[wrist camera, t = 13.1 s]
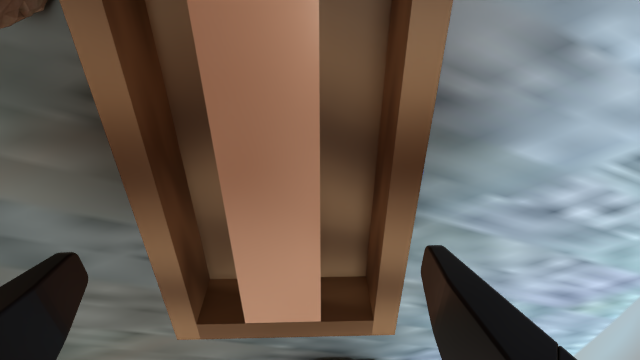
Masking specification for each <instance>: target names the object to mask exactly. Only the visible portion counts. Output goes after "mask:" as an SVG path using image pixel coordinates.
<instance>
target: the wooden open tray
mask: <svg viewBox="0 0 640 360" xmlns="http://www.w3.org/2000/svg"><path fill="white" fill-rule="evenodd" d="M59 1H60V4H61V6H62V9H63V12H64V15H65V18H66V21H67V24H68V27H69V29H70V32H71V35H72V38H73V41H74V44H75V47H76V50H77V52H78V55H79V58H80V61H81V64H82V67H83V70H84V73H85V75H86V78H87V81H88V84H89V87H90V90H91V93H92V96H93V98H94V101H95V104H96V107H97V110H98V113H99V116H100V119H101V121H102V124H103V127H104V130H105V133H106V136H107V139H108V142H109V144H110V147H111V150H112V153H113V156H114V159H115V162H116V165H117V167H118V170H119V173H120V176H121V179H122V182H123V185H124V188H125V190H126V193H127V196H128V199H129V202H130V205H131V208H132V211H133V213H134V216H135V219H136V222H137V225H138V228H139V231H140V234H141V236H142V239H143V242H144V245H145V248H146V251H147V254H148V257H149V259H150V262H151V265H152V268H153V271H154V274H155V277H156V280H157V282H158V285H159V288H160V291H161V294H162V297H163V300H164V303H165V305H166V308H167V311H168V314H169V317H170V320H171V323H172V326H173V328H174V331H175V334H176V337H177V340H188V339H231V338H275V337H318V336H361V335H395V329H396V324H397V318H398V312H399V306H400V301H401V295H402V289H403V283H404V278H405V272H406V266H407V261H408V255H409V249H410V243H411V238H412V232H413V226H414V220H415V215H416V209H417V203H418V198H419V192H420V186H421V180H422V175H423V169H424V163H425V157H426V152H427V146H428V140H429V135H430V129H431V123H432V117H433V112H434V106H435V100H436V94H437V89H438V83H439V77H440V72H441V66H442V60H443V54H444V49H445V43H446V37H447V31H448V26H449V20H450V14H451V9H452V3H453V0H319V93H320V268H321V321H318V322H276V323H245V319H244V313H243V308H242V302H241V297H240V291H239V286H238V280H237V275H236V269H235V264H234V258H233V253H232V247H231V242H230V236H229V231H228V225H227V220H226V214H225V209H224V203H223V197H222V192H221V186H220V181H219V175H218V170H217V164H216V159H215V153H214V148H213V142H212V137H211V131H210V126H209V120H208V115H207V109H206V104H205V98H204V93H203V87H202V82H201V76H200V71H199V65H198V60H197V54H196V48H195V43H194V37H193V32H192V26H191V21H190V15H189V10H188V4H187V0H59Z"/></svg>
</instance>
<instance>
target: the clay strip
mask: <svg viewBox="0 0 640 360" xmlns="http://www.w3.org/2000/svg"><path fill="white" fill-rule="evenodd" d="M187 4H188V10H189V15H190V21H191V26H192V32H193V37H194V43H195V48H196V54H197V60H198V65H199V71H200V76H201V82H202V87H203V93H204V98H205V104H206V109H207V115H208V120H209V126H210V131H211V137H212V142H213V148H214V153H215V159H216V164H217V170H218V175H219V181H220V186H221V192H222V197H223V203H224V209H225V214H226V220H227V225H228V231H229V236H230V242H231V247H232V253H233V258H234V264H235V269H236V275H237V280H238V286H239V291H240V297H241V302H242V308H243V313H244V319H245V323H276V322H318V321H321V268H320V93H319V0H187Z"/></svg>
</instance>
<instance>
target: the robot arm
mask: <svg viewBox="0 0 640 360" xmlns="http://www.w3.org/2000/svg"><path fill="white" fill-rule="evenodd" d="M421 277H422V282H423V287H424V292H425V297H426V301H427V306H428V311H429V316H430V321H431V325H432V330H433V333H434V337H435V340H436V343H437V346H438V349H439V352H440V355H441V358H442V360H577V359H576V358H575V357H573V356H572V355H571V354H570V353H569V352H567V351H566V350H565V349H564V348H563V347H562V346H558V343H557V342H556V341H554V340H553V339H552V338H551V337H550V336H548V335H547V334H546V333H545V332H544V331H543V330H541V329H540V328H539V327H538V326H537V325H536V324H534V323H533V322H532V321H531V320H530V319H529V318H527V317H526V316H525V315H524V314H523V313H521V312H520V311H519V310H518V309H517V308H516V307H514V306H513V305H512V304H511V303H510V302H509V301H507V300H506V299H505V298H504V297H503V296H501V295H500V294H499V293H498V292H497V291H496V290H494V289H493V288H492V287H491V286H490V285H489V284H487V283H486V282H485V281H484V280H483V279H481V278H480V277H479V276H478V275H477V274H476V273H474V272H473V271H472V270H471V269H470V268H469V267H467V266H466V265H465V264H464V263H463V262H462V261H460V260H459V259H458V258H457V257H456V256H454V255H453V254H452V253H451V252H450V251H449V250H447V249H446V248H445V247H444V246H441V245H429V246H427V247H426V248H425V251H424V256H423V261H422V266H421ZM87 283H88V274H87V272H86V270H85V268H84V266H83V264H82V262H81V260H80V258H79V256H78V255H77V254H76V253H73V252H63V253H57V254H54V255H53V256H51V257H49V258H48V259H46V260H44V261H43V262H41V263H39V264H38V265H36V266H34V267H33V268H31V269H29V270H28V271H26V272H24V273H23V274H21V275H19V276H18V277H16V278H14V279H13V280H11V281H9V282H7V283H6V284H4V285H2V286H1V287H0V360H56V359H57V357H58V355H59V353H60V351H61V349H62V347H63V345H64V342H65V340H66V338H67V336H68V333H69V331H70V328H71V326H72V323H73V320H74V318H75V315H76V313H77V310H78V307H79V305H80V302H81V299H82V297H83V294H84V292H85V289H86V286H87Z"/></svg>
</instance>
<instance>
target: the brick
mask: <svg viewBox="0 0 640 360" xmlns="http://www.w3.org/2000/svg"><path fill="white" fill-rule="evenodd" d="M46 2H47V0H0V29H1V28H4V27H8V26H11V25H13V24H14V23H16V22H18V21H20V20H22V19H24V18H26V17H29V16H32V15H33V13H36V12H39V11H43V10H44V7H45V4H46Z"/></svg>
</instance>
